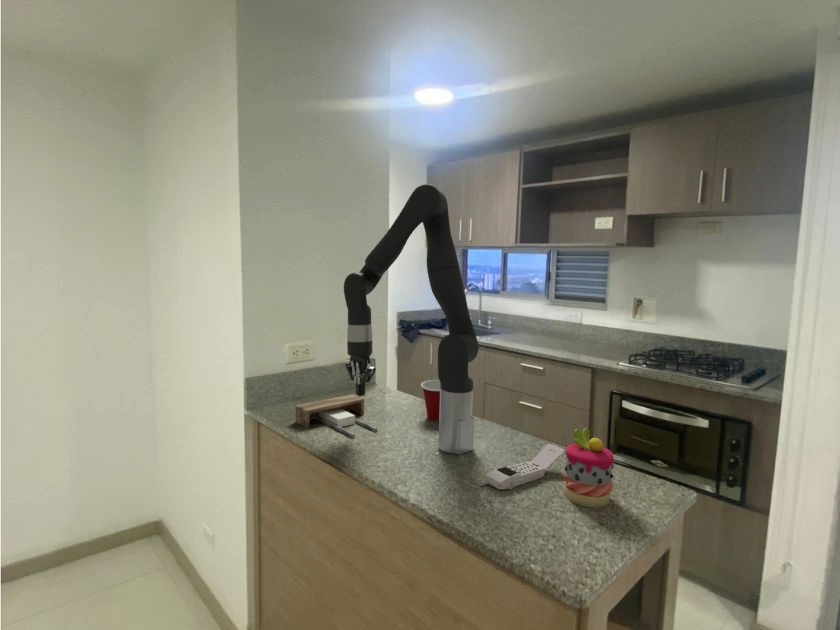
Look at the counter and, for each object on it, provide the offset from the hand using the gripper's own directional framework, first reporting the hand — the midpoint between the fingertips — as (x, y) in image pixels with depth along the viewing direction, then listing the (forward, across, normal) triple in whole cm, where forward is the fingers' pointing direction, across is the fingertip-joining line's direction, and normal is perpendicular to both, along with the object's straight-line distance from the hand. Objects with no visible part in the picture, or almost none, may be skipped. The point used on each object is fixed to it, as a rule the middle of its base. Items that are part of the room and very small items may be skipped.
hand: (360, 395), depth 143 cm
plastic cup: (+12, -4, -28) cm, 31 cm away
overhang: (+11, +9, 0) cm, 15 cm away
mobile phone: (+14, -50, -13) cm, 54 cm away
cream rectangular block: (+12, +14, 0) cm, 18 cm away
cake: (+14, -65, -16) cm, 69 cm away
